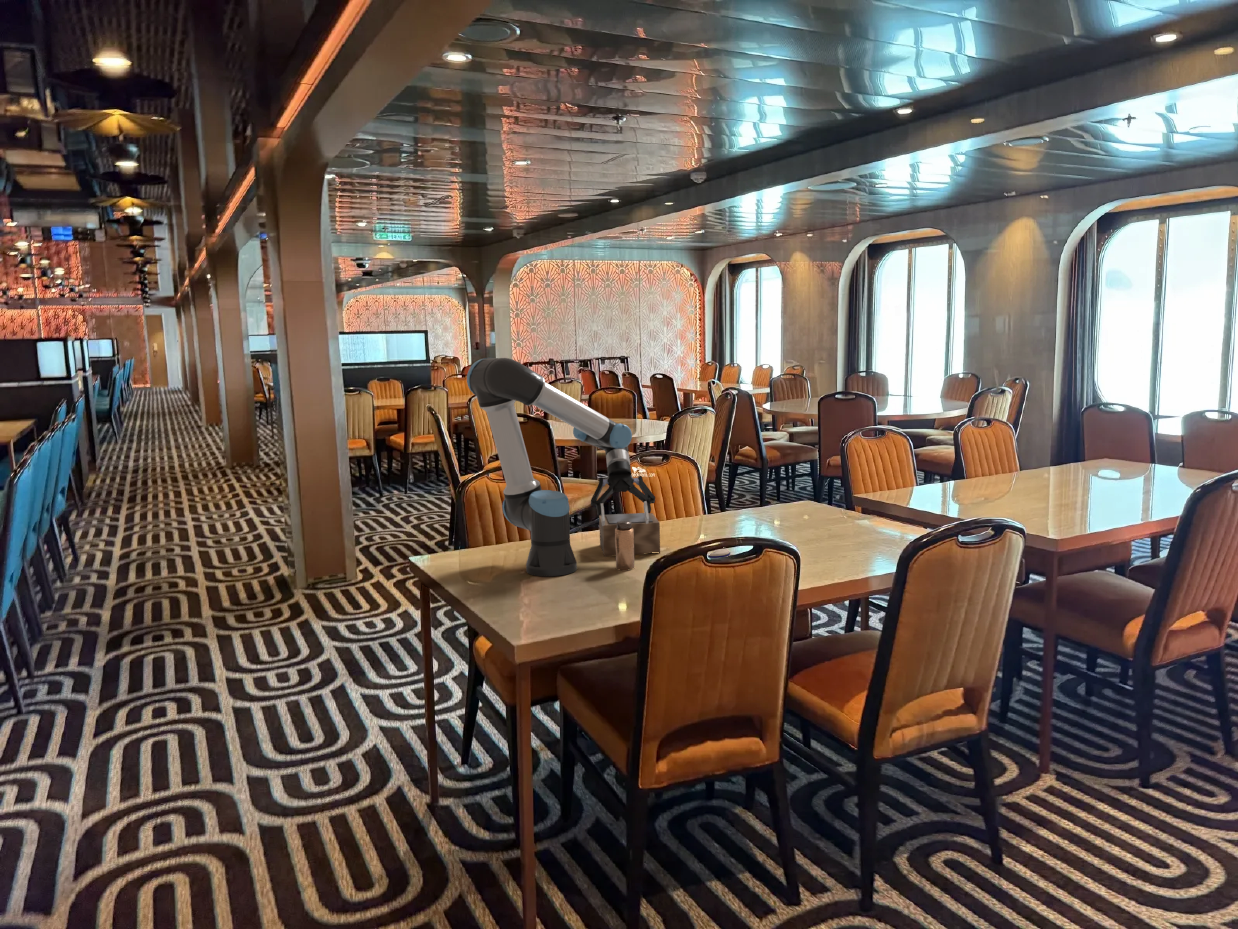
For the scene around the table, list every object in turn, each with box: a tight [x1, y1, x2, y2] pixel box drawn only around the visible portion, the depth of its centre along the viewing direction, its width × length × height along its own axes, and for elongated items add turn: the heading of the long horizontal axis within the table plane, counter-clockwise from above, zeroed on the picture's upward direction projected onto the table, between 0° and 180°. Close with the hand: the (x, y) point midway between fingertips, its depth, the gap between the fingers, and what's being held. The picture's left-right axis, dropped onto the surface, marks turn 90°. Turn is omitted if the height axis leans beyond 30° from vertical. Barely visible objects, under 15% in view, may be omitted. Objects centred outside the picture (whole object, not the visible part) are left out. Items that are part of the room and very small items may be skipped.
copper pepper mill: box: [615, 521, 635, 571], centre depth 259 cm, size 6×6×14 cm
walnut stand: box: [598, 512, 661, 557], centre depth 284 cm, size 18×16×10 cm
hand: (625, 522), depth 266 cm, fingers open, 13 cm apart
